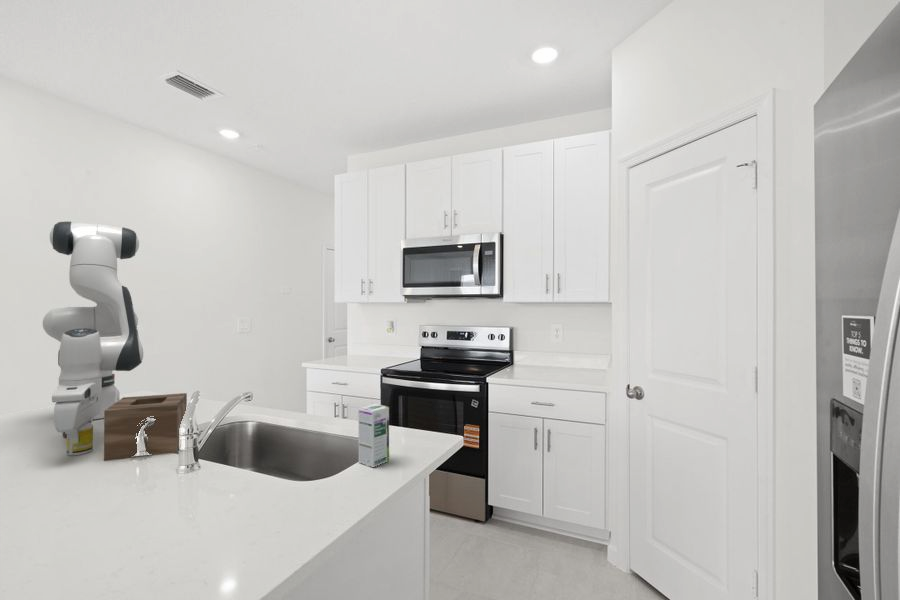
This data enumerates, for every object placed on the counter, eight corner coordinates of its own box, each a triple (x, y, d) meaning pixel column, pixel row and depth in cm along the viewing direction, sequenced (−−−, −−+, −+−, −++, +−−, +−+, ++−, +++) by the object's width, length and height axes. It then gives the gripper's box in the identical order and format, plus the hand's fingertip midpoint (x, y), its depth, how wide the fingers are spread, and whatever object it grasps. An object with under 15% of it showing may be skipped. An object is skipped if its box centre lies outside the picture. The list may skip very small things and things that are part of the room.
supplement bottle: (98, 449, 117) (98, 414, 117) (79, 456, 111) (79, 419, 111) (80, 448, 117) (80, 413, 117) (60, 455, 112) (61, 419, 112)
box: (122, 441, 123) (123, 397, 123) (186, 434, 130) (186, 393, 130) (103, 460, 109) (104, 410, 109) (176, 452, 115) (177, 404, 115)
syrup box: (373, 468, 105) (373, 410, 105) (357, 463, 109) (358, 407, 109) (389, 461, 110) (390, 406, 110) (374, 456, 113) (374, 402, 113)
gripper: (80, 382, 123) (80, 429, 123) (48, 397, 104) (47, 453, 104) (107, 380, 125) (107, 427, 125) (80, 395, 107) (80, 449, 107)
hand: (80, 439), depth 114 cm, fingers open, 6 cm apart
